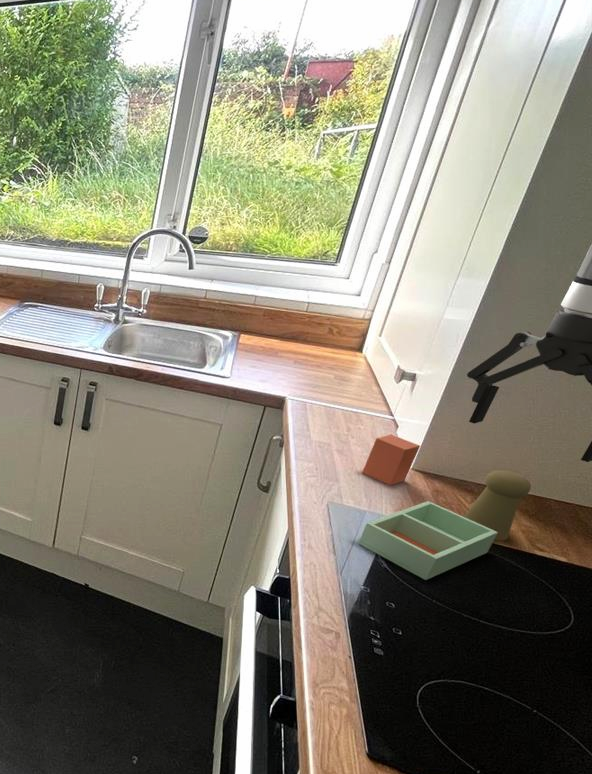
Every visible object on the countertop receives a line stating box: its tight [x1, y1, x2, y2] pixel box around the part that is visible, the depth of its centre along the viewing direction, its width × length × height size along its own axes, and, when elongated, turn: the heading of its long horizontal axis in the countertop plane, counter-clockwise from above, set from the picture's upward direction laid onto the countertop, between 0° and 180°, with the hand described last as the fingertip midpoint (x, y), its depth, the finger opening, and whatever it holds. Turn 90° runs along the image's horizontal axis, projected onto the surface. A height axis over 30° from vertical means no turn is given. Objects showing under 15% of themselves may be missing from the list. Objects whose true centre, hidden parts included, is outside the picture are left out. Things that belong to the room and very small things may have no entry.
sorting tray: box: [357, 500, 498, 581], centre depth 95 cm, size 18×9×4 cm, turn 113°
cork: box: [463, 469, 532, 541], centre depth 99 cm, size 6×6×11 cm
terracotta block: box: [361, 434, 421, 486], centre depth 115 cm, size 5×5×8 cm
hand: (528, 439), depth 95 cm, fingers open, 13 cm apart
